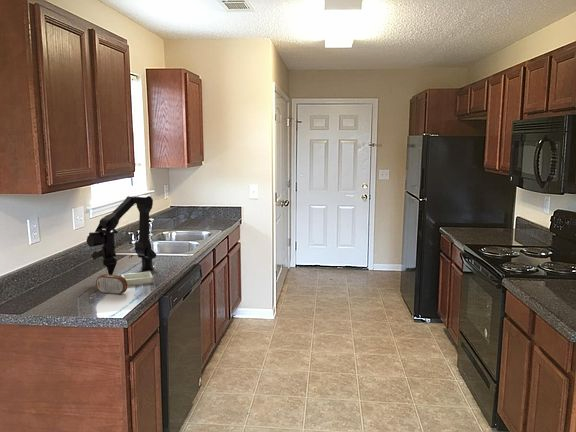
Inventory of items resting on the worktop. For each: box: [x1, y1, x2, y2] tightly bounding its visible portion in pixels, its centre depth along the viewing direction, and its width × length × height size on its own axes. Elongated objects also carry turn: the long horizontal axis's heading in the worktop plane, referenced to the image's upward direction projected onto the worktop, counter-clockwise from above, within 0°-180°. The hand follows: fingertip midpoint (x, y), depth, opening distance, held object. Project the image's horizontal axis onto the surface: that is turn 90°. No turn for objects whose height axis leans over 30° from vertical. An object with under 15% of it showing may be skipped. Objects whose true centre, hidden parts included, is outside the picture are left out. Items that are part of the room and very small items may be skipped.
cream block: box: [105, 266, 116, 275], centre depth 235 cm, size 4×4×9 cm
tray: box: [120, 271, 154, 287], centre depth 231 cm, size 12×14×3 cm
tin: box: [95, 273, 129, 295], centre depth 212 cm, size 15×3×8 cm, turn 74°
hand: (110, 274), depth 236 cm, fingers open, 9 cm apart
